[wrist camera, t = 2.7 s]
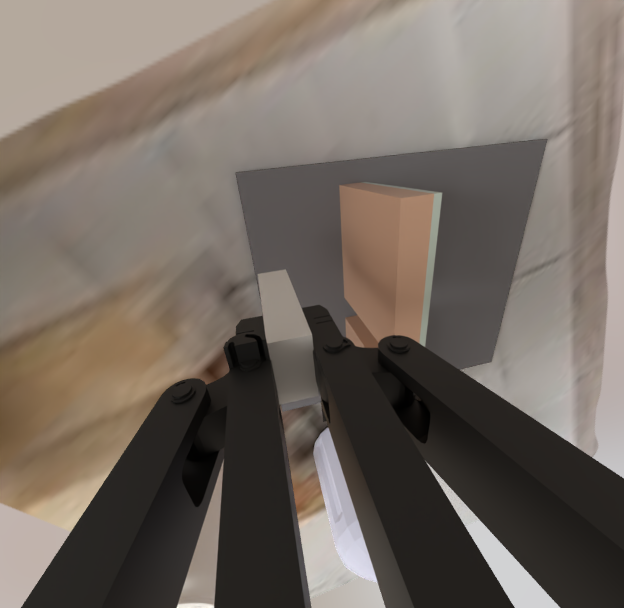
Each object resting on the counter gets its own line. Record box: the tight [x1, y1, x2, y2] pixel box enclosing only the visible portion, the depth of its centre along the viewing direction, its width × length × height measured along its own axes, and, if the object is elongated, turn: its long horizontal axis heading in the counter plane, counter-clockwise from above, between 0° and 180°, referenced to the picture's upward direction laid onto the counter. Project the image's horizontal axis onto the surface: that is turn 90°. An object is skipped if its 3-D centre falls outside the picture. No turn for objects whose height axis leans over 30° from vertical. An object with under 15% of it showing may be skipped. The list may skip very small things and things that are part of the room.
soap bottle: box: [313, 427, 378, 583], centre depth 23 cm, size 9×9×25 cm
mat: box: [236, 139, 547, 411], centre depth 26 cm, size 24×22×1 cm
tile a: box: [339, 182, 442, 347], centre depth 18 cm, size 2×9×9 cm, turn 5°
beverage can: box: [177, 460, 224, 608], centre depth 25 cm, size 8×8×12 cm
